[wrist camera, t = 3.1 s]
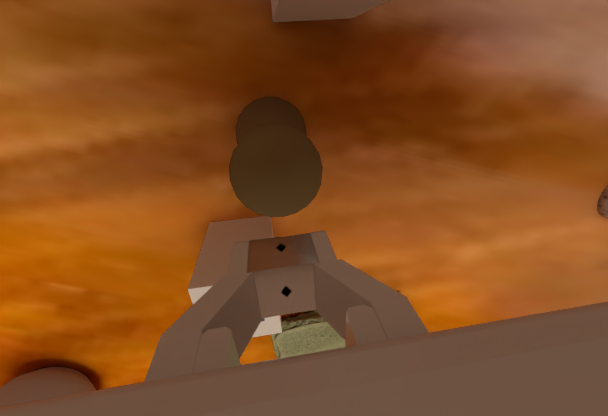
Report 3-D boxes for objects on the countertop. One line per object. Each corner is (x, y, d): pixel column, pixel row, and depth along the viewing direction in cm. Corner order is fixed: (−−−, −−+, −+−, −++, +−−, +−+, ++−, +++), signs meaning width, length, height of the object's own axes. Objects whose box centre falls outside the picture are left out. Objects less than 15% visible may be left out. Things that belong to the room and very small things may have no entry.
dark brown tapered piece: (220, 133, 23) (190, 184, 13) (271, 79, 22) (279, 94, 12) (271, 180, 26) (277, 252, 16) (320, 135, 24) (358, 184, 15)
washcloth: (263, 315, 34) (264, 338, 32) (398, 282, 35) (410, 301, 32) (287, 373, 41) (288, 396, 38) (400, 344, 41) (410, 365, 38)
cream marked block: (270, 215, 27) (274, 278, 19) (276, 262, 30) (282, 334, 22) (208, 222, 27) (185, 291, 19) (220, 269, 30) (205, 346, 22)
